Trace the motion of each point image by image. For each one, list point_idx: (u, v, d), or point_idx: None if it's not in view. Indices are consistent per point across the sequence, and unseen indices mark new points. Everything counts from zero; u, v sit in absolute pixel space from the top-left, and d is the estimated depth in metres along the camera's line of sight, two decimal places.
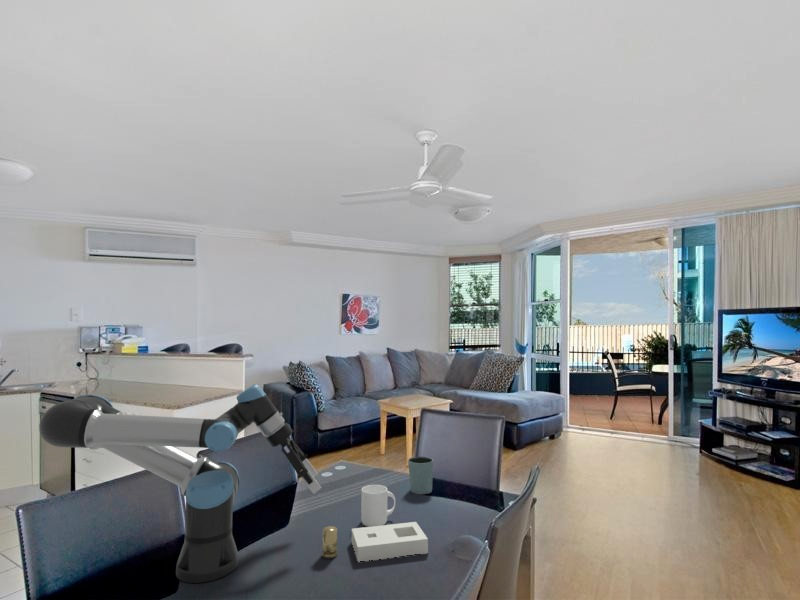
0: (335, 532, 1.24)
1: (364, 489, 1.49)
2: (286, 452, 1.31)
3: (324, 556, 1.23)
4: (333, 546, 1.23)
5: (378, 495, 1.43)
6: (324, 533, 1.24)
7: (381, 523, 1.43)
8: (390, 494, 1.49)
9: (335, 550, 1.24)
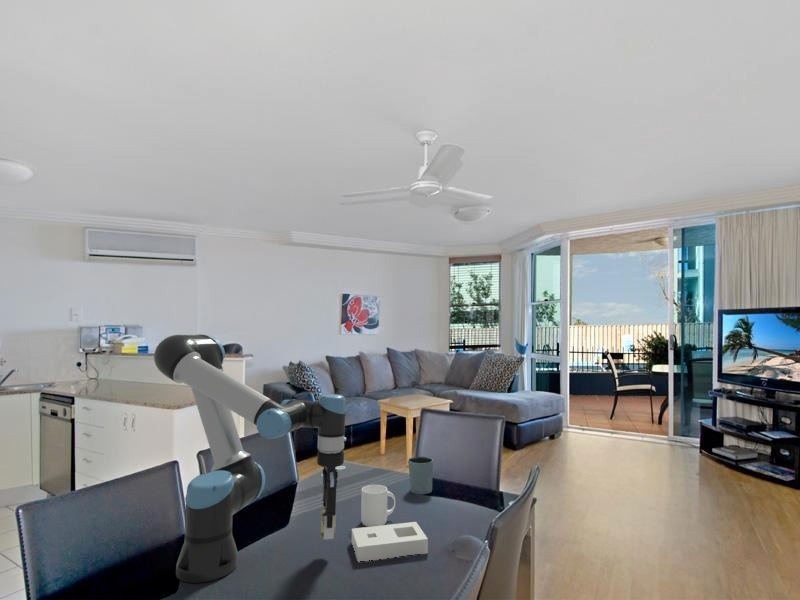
0: None
1: (364, 489, 1.49)
2: (330, 486, 1.20)
3: (322, 537, 1.24)
4: None
5: (378, 495, 1.43)
6: None
7: (381, 523, 1.43)
8: (390, 494, 1.49)
9: (334, 531, 1.24)
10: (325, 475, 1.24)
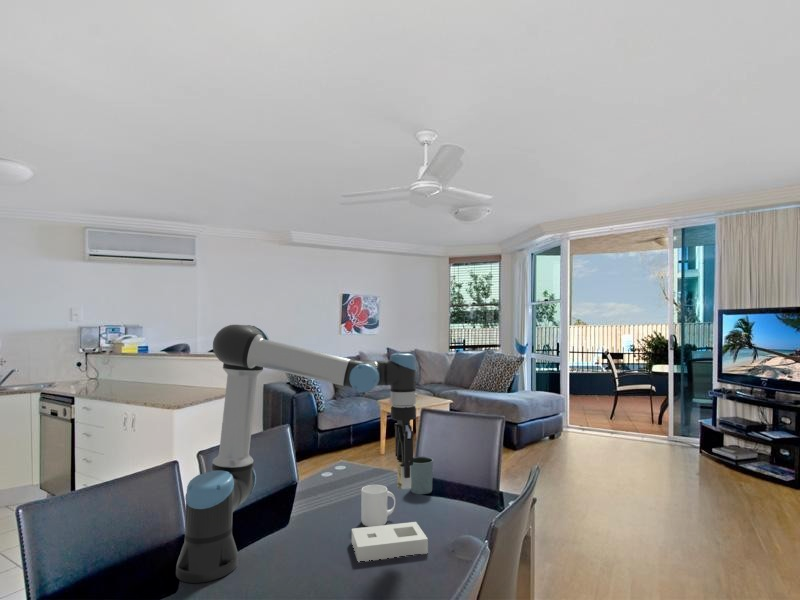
0: None
1: (364, 489, 1.49)
2: (407, 437, 1.26)
3: (400, 487, 1.30)
4: None
5: (378, 495, 1.43)
6: (399, 465, 1.30)
7: (381, 523, 1.43)
8: (390, 494, 1.49)
9: None
10: (400, 428, 1.30)
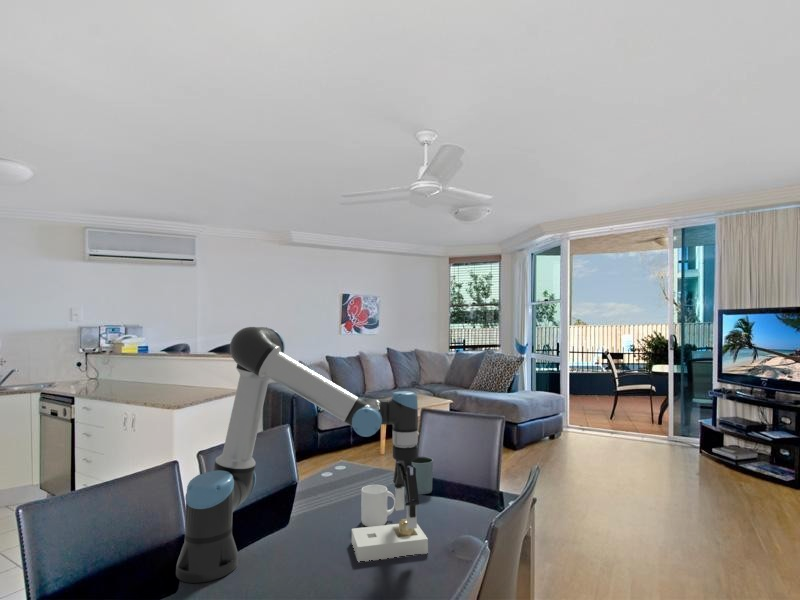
0: None
1: (364, 489, 1.49)
2: (409, 473, 1.25)
3: None
4: None
5: (378, 495, 1.43)
6: (401, 525, 1.29)
7: (381, 523, 1.43)
8: (390, 494, 1.49)
9: None
10: (402, 469, 1.30)
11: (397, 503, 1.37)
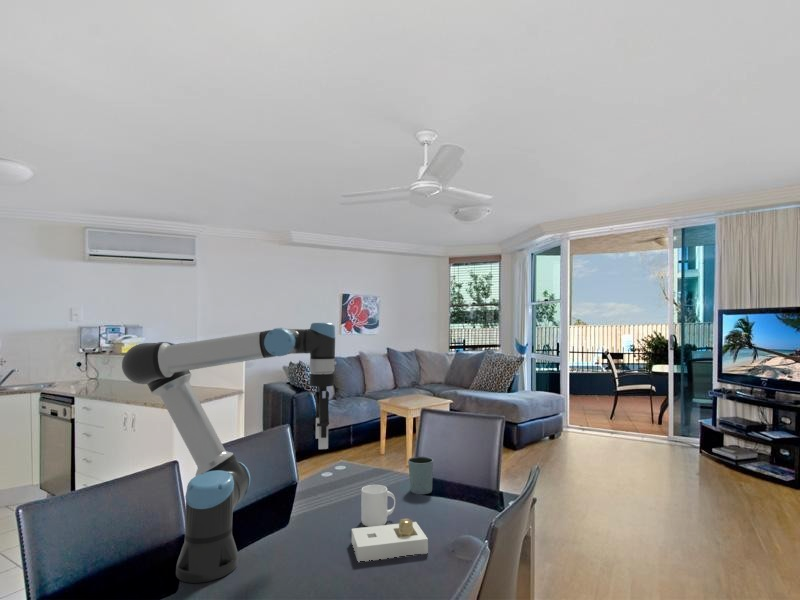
0: (411, 524, 1.29)
1: (364, 489, 1.49)
2: (322, 396, 1.30)
3: None
4: None
5: (378, 495, 1.43)
6: (401, 525, 1.29)
7: (381, 523, 1.43)
8: (390, 494, 1.49)
9: None
10: (317, 394, 1.34)
11: (317, 432, 1.41)
